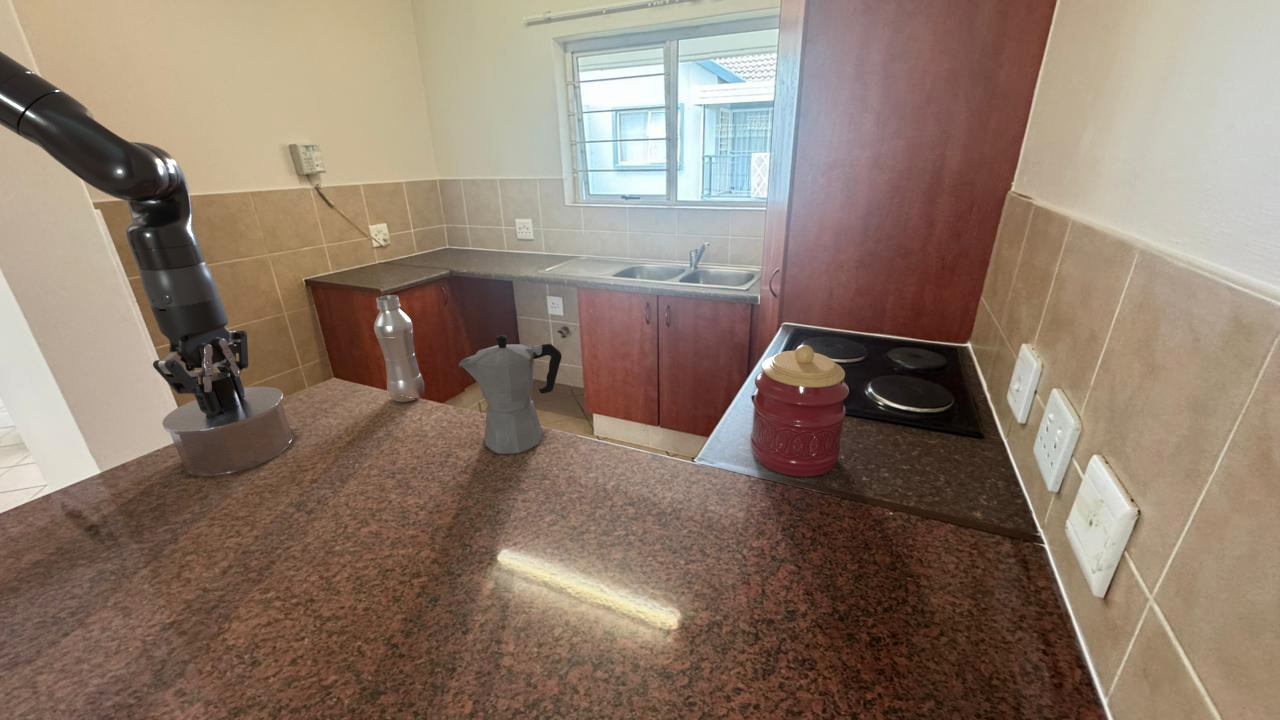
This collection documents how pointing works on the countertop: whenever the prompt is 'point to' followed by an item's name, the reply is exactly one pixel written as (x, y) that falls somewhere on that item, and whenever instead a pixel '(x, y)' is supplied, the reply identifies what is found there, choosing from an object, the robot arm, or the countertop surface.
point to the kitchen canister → (798, 413)
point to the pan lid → (223, 408)
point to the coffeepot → (511, 392)
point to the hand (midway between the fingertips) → (225, 406)
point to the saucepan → (235, 446)
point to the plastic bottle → (398, 350)
